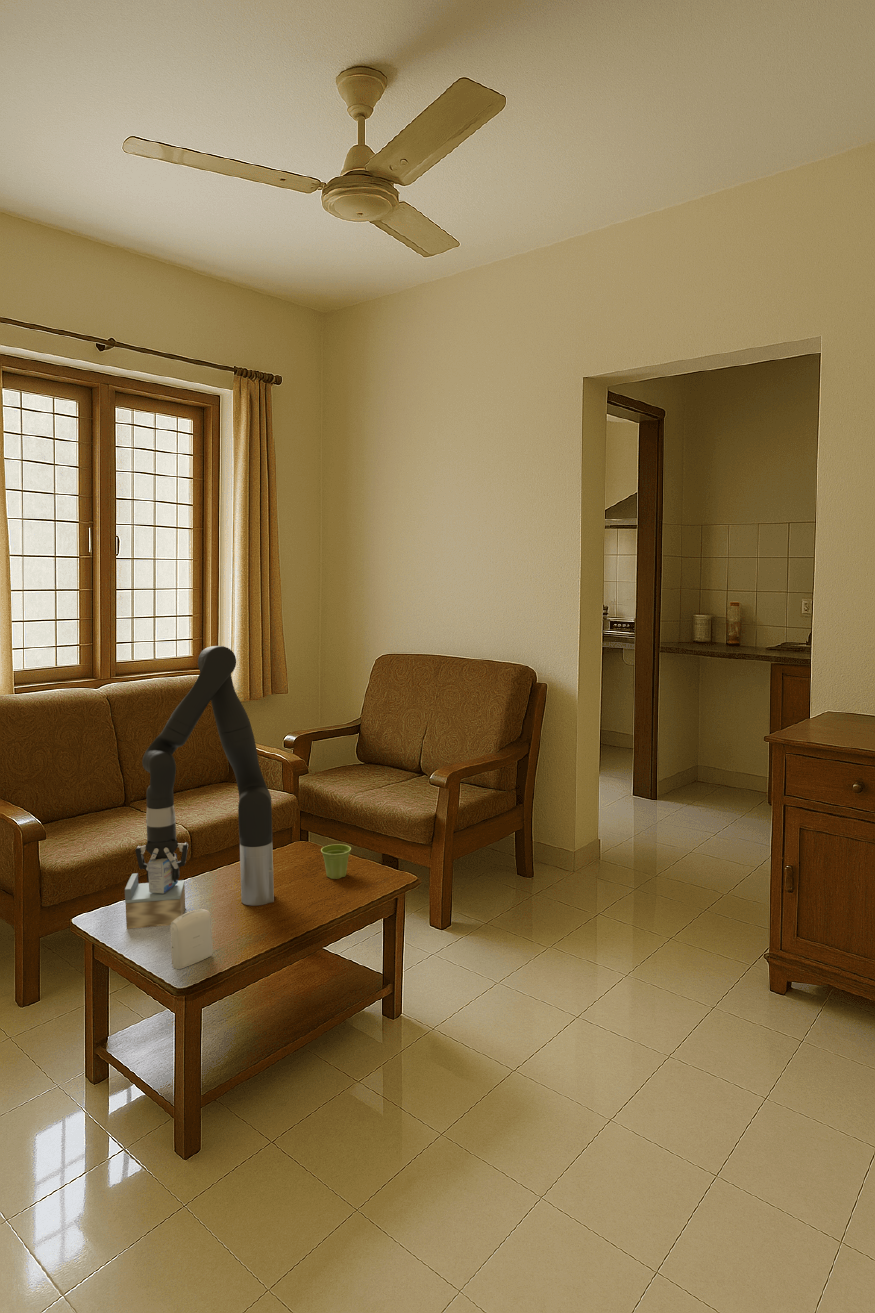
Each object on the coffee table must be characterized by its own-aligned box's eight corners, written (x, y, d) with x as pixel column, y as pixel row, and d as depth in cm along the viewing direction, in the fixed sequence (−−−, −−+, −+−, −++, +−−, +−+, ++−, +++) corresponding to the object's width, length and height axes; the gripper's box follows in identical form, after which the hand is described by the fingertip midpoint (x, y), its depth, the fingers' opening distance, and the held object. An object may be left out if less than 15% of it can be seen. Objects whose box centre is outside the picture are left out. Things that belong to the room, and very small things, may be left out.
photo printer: (178, 971, 194) (177, 921, 193) (168, 966, 197) (167, 916, 195) (215, 956, 202) (214, 908, 201) (205, 951, 204) (204, 903, 203)
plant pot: (349, 881, 252) (349, 854, 251) (319, 881, 252) (318, 854, 251) (353, 870, 261) (352, 844, 260) (323, 870, 261) (323, 844, 261)
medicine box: (163, 894, 220) (162, 863, 219) (148, 893, 221) (147, 862, 220) (178, 883, 228) (177, 853, 227) (163, 882, 228) (162, 852, 228)
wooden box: (185, 908, 231) (184, 884, 231) (181, 924, 221) (180, 899, 220) (133, 912, 229) (132, 888, 228) (126, 929, 218) (125, 903, 217)
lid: (184, 883, 231) (184, 869, 231) (180, 899, 219) (179, 885, 219) (132, 886, 228) (132, 873, 228) (125, 903, 217) (124, 889, 216)
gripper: (189, 816, 228) (191, 875, 229) (135, 819, 225) (138, 879, 226) (187, 824, 220) (189, 884, 222) (131, 827, 217) (133, 889, 219)
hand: (163, 881), depth 224 cm, fingers closed on medicine box, 5 cm apart
